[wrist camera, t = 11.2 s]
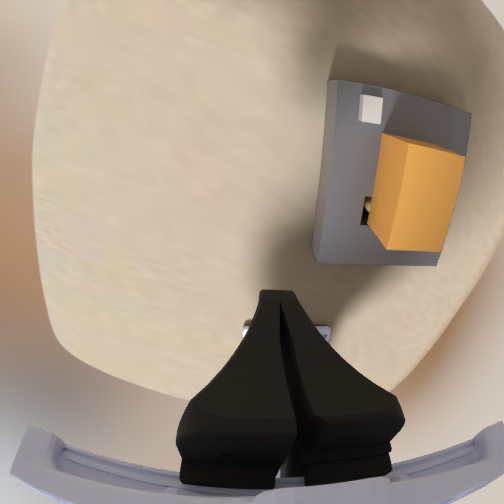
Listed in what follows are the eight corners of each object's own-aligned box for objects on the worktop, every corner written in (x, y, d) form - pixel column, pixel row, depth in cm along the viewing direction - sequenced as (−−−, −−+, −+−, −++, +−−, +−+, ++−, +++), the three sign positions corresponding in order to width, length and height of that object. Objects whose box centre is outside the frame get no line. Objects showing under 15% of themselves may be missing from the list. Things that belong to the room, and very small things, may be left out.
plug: (405, 215, 20) (440, 252, 16) (358, 211, 20) (386, 249, 16) (420, 138, 17) (465, 157, 13) (370, 128, 17) (408, 143, 13)
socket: (422, 250, 22) (439, 270, 20) (311, 245, 22) (318, 268, 20) (451, 109, 16) (476, 114, 14) (327, 80, 16) (340, 78, 14)
